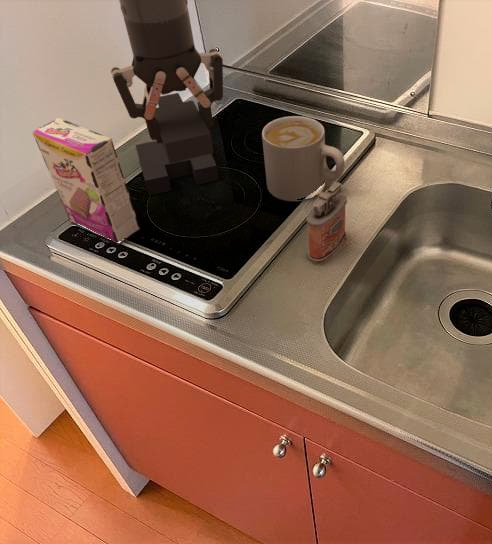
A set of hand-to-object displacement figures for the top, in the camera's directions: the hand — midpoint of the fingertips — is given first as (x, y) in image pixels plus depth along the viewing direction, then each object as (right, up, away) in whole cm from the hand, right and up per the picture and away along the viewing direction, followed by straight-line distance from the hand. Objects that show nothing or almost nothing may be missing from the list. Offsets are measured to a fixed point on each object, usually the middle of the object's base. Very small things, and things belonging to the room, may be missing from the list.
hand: (182, 134), depth 79 cm
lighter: (+20, -15, +7) cm, 26 cm away
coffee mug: (+16, -5, +18) cm, 25 cm away
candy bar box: (-15, -12, +11) cm, 22 cm away
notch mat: (-6, -1, +23) cm, 23 cm away
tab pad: (-1, 0, +2) cm, 2 cm away
